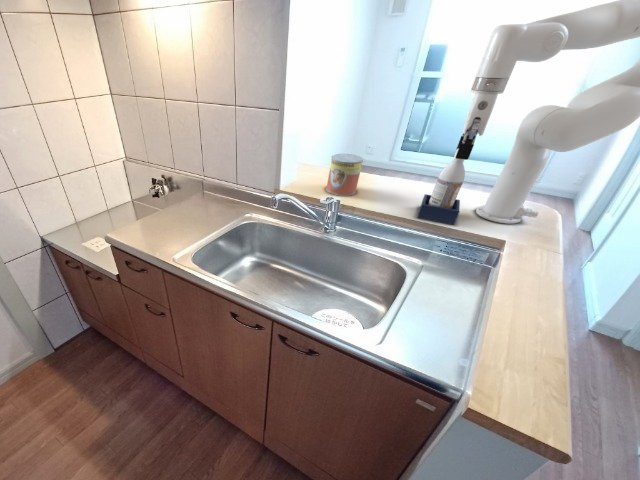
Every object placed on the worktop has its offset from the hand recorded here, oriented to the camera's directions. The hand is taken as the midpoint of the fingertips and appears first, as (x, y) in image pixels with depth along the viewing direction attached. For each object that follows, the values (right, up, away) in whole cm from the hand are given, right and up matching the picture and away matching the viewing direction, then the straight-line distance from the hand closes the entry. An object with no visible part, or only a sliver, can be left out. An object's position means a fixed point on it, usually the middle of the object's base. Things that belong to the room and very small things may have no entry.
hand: (461, 154), depth 96 cm
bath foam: (0, -15, +12) cm, 19 cm away
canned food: (-27, -1, +30) cm, 40 cm away
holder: (0, -15, +12) cm, 19 cm away
